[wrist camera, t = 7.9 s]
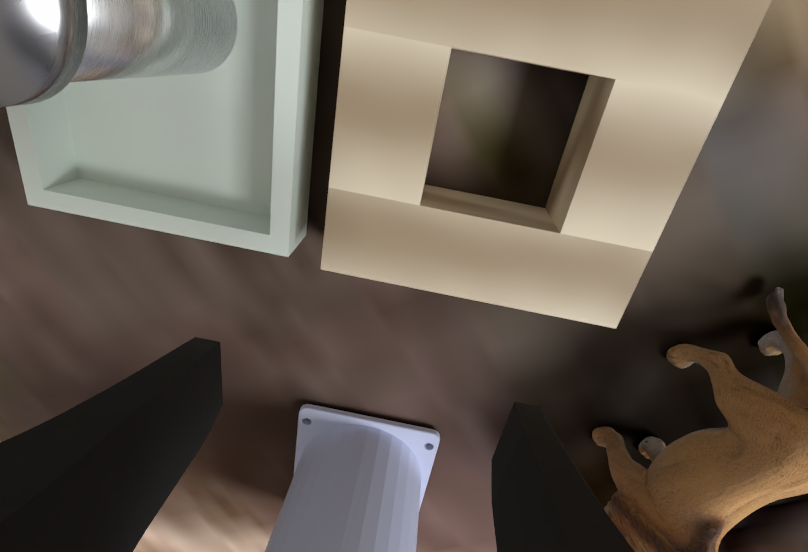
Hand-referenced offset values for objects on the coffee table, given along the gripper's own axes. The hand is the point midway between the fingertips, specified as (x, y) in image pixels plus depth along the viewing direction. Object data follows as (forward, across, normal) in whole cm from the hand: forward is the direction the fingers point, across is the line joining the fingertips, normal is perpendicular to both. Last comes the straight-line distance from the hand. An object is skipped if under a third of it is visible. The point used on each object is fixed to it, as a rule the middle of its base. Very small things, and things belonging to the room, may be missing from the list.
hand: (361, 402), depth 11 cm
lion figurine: (+10, -15, +6) cm, 20 cm away
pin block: (+10, -3, -5) cm, 12 cm away
